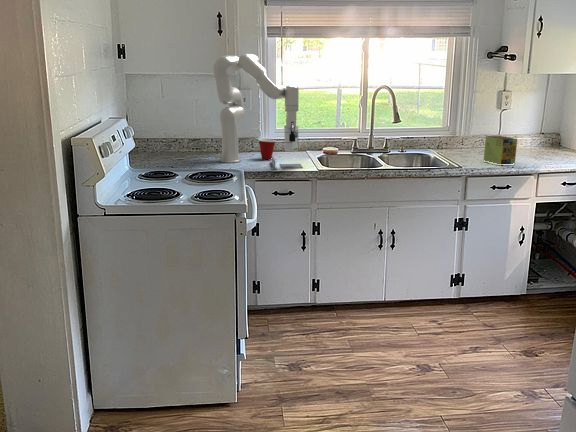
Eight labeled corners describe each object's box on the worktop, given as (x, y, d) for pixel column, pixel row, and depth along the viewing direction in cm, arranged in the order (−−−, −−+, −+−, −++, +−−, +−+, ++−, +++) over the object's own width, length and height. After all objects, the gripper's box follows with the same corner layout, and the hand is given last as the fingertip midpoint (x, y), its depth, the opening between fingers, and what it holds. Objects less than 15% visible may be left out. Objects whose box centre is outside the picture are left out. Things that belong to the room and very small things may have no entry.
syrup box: (293, 152, 332) (293, 125, 328) (284, 151, 335) (284, 125, 331) (298, 150, 336) (298, 124, 332) (289, 149, 339) (289, 124, 335)
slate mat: (281, 168, 331) (281, 167, 331) (279, 164, 343) (279, 163, 343) (302, 168, 332) (302, 167, 332) (300, 164, 344) (300, 163, 344)
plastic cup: (277, 160, 356) (277, 140, 353) (258, 160, 355) (258, 140, 352) (275, 157, 366) (275, 138, 363) (257, 157, 365) (257, 138, 362)
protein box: (500, 166, 343) (503, 139, 339) (482, 162, 357) (485, 136, 353) (515, 165, 347) (518, 138, 343) (497, 161, 361) (499, 135, 357)
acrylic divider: (271, 169, 327) (271, 160, 326) (269, 163, 346) (269, 154, 345) (277, 169, 327) (277, 160, 326) (274, 163, 347) (274, 154, 345)
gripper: (283, 107, 337) (283, 138, 342) (286, 109, 321) (286, 142, 325) (296, 107, 338) (296, 138, 343) (300, 109, 321) (299, 142, 326)
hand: (291, 140), depth 334 cm, fingers closed on syrup box, 7 cm apart
